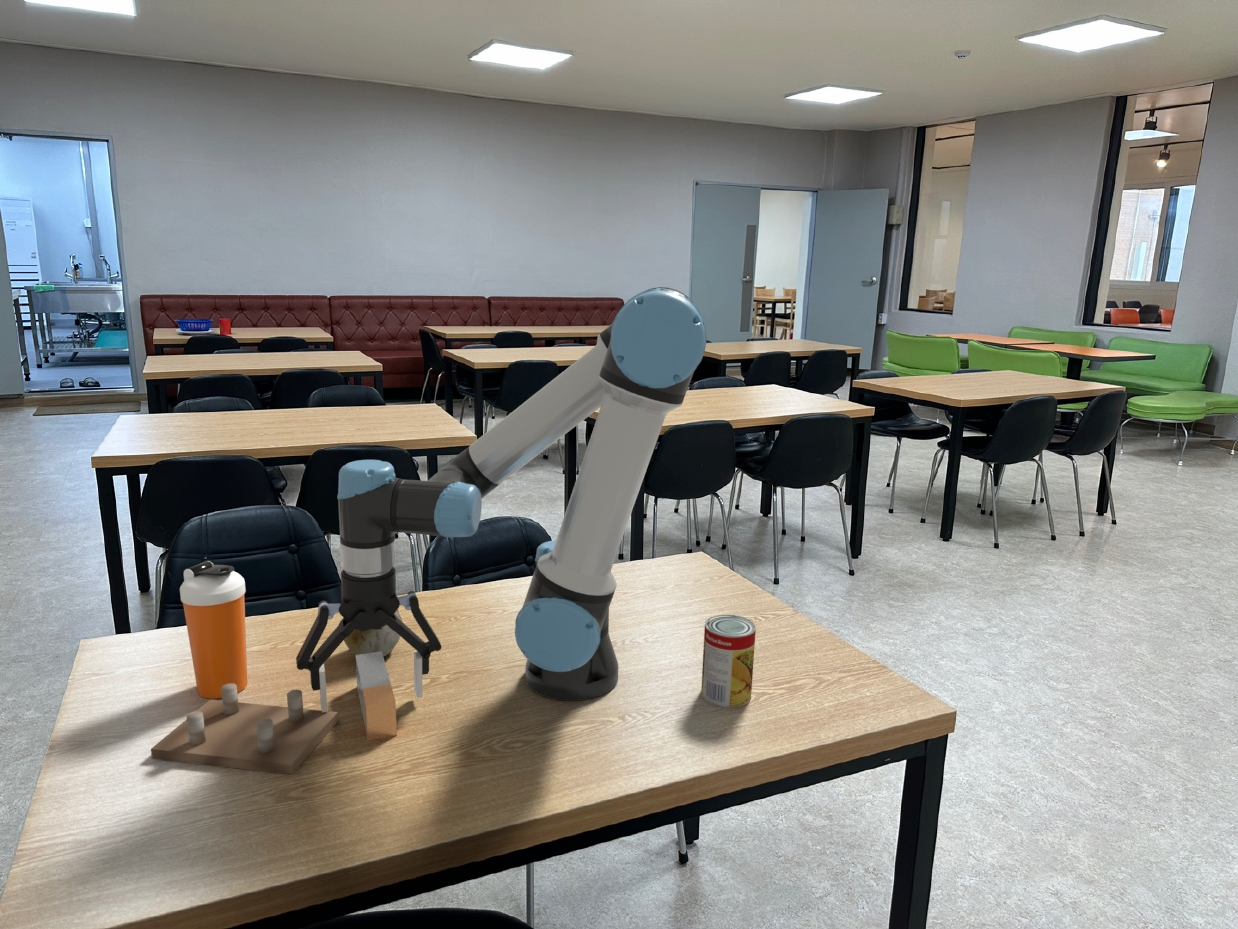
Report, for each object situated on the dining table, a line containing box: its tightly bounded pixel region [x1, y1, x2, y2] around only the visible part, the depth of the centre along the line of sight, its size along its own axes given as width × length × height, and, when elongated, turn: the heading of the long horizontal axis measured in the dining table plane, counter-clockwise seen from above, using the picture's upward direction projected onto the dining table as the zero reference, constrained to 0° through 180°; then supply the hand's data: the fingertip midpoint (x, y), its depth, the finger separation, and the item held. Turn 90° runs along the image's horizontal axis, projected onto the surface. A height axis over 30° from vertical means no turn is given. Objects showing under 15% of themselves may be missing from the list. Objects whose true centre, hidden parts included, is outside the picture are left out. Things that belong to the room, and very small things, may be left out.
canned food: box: [700, 614, 757, 709], centre depth 130 cm, size 8×8×12 cm
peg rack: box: [150, 683, 339, 775], centre depth 115 cm, size 20×13×6 cm, turn 82°
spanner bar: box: [354, 651, 398, 742], centre depth 123 cm, size 16×4×6 cm, turn 22°
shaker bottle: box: [179, 560, 248, 700], centre depth 127 cm, size 9×9×20 cm
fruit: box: [343, 608, 403, 658], centre depth 140 cm, size 10×9×12 cm
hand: (371, 701), depth 124 cm, fingers open, 13 cm apart
